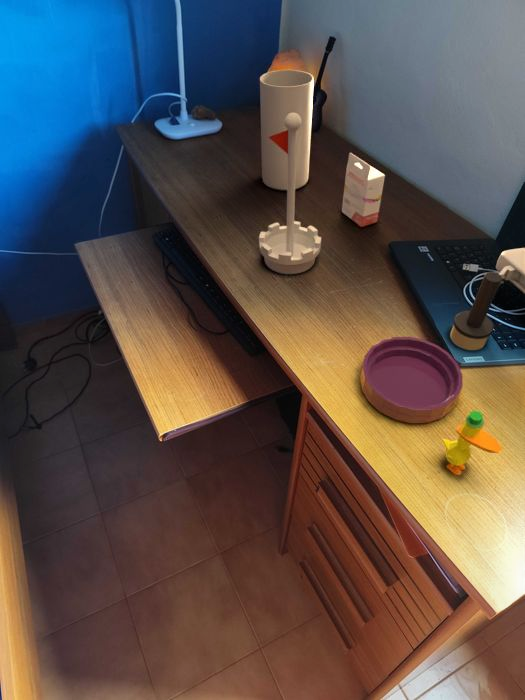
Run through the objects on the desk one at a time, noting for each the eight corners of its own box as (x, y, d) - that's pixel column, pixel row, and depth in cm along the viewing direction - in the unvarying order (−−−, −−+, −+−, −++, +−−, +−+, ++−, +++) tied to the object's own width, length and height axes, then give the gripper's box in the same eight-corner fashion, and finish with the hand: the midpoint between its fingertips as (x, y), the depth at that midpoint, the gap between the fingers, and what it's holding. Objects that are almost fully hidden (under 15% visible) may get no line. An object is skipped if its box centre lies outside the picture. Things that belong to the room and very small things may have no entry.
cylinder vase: (294, 196, 120) (297, 90, 102) (253, 184, 125) (249, 81, 107) (316, 176, 127) (322, 74, 109) (277, 166, 132) (277, 67, 114)
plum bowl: (475, 409, 73) (483, 393, 70) (389, 437, 70) (394, 421, 67) (421, 343, 83) (427, 327, 80) (344, 366, 80) (346, 349, 77)
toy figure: (484, 474, 65) (516, 425, 56) (473, 492, 63) (504, 444, 55) (440, 446, 68) (464, 396, 60) (428, 463, 66) (451, 413, 58)
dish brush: (494, 345, 82) (524, 284, 72) (463, 355, 81) (489, 293, 71) (471, 322, 86) (497, 261, 76) (441, 331, 85) (463, 269, 75)
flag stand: (330, 253, 102) (344, 108, 81) (299, 284, 95) (306, 134, 73) (280, 235, 108) (281, 95, 86) (247, 264, 100) (240, 118, 79)
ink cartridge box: (378, 222, 111) (389, 161, 100) (361, 228, 109) (370, 167, 98) (357, 206, 116) (365, 147, 105) (340, 211, 114) (347, 152, 104)
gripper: (541, 233, 86) (478, 249, 83) (635, 300, 73) (563, 321, 70) (528, 262, 91) (467, 277, 88) (614, 329, 77) (546, 350, 74)
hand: (511, 297), depth 79 cm, fingers open, 8 cm apart
